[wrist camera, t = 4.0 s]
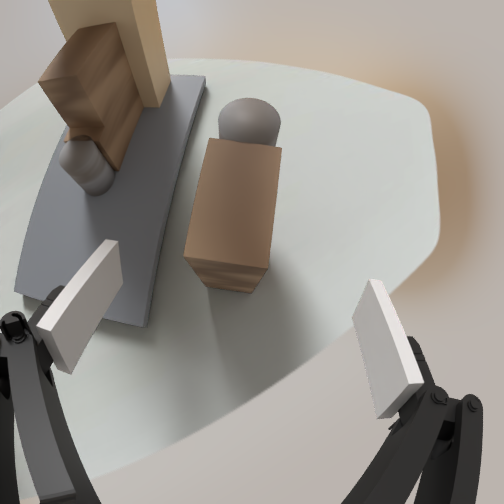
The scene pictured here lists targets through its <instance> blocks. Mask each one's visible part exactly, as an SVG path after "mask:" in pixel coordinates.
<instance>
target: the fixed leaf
mask: <svg viewBox="0 0 504 504" xmlns="http://www.w3.org/2000/svg"><path fill="white" fill-rule="evenodd" d="M38 83H39V85H40V86H41V88H42V89H43V91H44V92H45V94H46V95H47V97H48V98H49V100H50V101H51V102H52V104H53V105H54V107H55V108H56V110H57V111H58V113H59V114H60V115H61V117H62V118H63V120H64V121H65V122H66V124H67V125H68V127H69V130H68V132H67V134H66V137H65V139H64V142H65V145H64V147H63V148H62V150H61V152H60V155H59V164H60V166H61V167H62V168H63V169H64V170H65V171H66V172H67V173H68V174H69V175H70V176H71V178H72V179H73V180H74V181H75V182H76V183H77V184H78V185H79V186H80V187H81V188H82V189H83V190H84V191H85V192H86V193H88V194H89V195H91V196H100V195H102V194H104V193H106V192H107V191H108V190H109V189H110V188H111V186H112V185H113V183H114V180H115V172H114V171H120V168H121V165H122V162H123V159H124V156H125V154H126V151H127V148H128V146H129V143H130V140H131V138H132V135H133V133H134V130H135V128H136V125H137V123H138V120H139V118H140V115H141V113H142V111H143V108H144V106H143V103H142V100H141V97H140V95H139V92H138V89H137V86H136V83H135V80H134V77H133V74H132V71H131V68H130V65H129V62H128V59H127V56H126V53H125V50H124V47H123V44H122V41H121V38H120V35H119V31H118V28H117V25H116V22H112V23H105V24H100V25H94V26H89V27H84V28H80V29H77V31H76V32H75V33H74V34H73V35H72V36H71V38H70V39H69V40H68V41H67V42H66V44H65V45H64V46H63V48H62V49H61V50H60V51H59V53H58V54H57V55H56V57H55V58H54V59H53V61H52V62H51V63H50V65H49V66H48V67H47V69H46V70H45V72H44V73H43V75H42V76H41V78H40V79H39V81H38Z"/></svg>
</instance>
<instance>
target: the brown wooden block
mask: <svg viewBox="0 0 504 504" xmlns="http://www.w3.org/2000/svg"><path fill="white" fill-rule="evenodd" d="M218 122H219V139H215V138H209V141H208V145H207V149H206V153H205V157H204V161H203V165H202V169H201V173H200V178H199V182H198V186H197V191H196V195H195V200H194V204H193V209H192V214H191V219H190V223H189V228H188V233H187V238H186V243H185V249H184V254H183V257H184V258H185V259H186V261H187V262H188V263H189V265H190V266H191V267H192V269H193V270H194V271H195V273H196V274H197V275H198V277H199V278H200V279H201V281H202V282H203V283H204V285H205V286H206V287H212V288H218V289H225V290H232V291H239V292H246V293H252V292H253V290H254V289H255V287H256V286H257V284H258V283H259V281H260V280H261V278H262V277H263V275H264V274H265V272H266V271H267V269H268V264H269V256H270V248H271V240H272V231H273V223H274V214H275V206H276V197H277V188H278V179H279V170H280V161H281V152H282V148H280V147H275V145H276V141H277V137H278V133H279V129H280V124H281V121H280V116H279V114H278V112H277V111H276V109H275V108H274V107H273V106H271V105H270V104H268V103H267V102H265V101H262V100H259V99H255V98H242V99H237V100H234V101H232V102H230V103H229V104H227V105H226V106H225V107H224V108H223V109H222V110H221V112H220V114H219V119H218Z"/></svg>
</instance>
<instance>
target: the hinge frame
mask: <svg viewBox="0 0 504 504" xmlns="http://www.w3.org/2000/svg"><path fill="white" fill-rule="evenodd" d="M48 1H49V3H50V6H51V8H52V11H53V13H54V15H55V17H56V20H57V22H58V24H59V26H60V29H61V31H62V33H63V35H64V37H65V39H66V41H68V40H69V39H70V38H71V36H72V35H73V34H74V33H75V32H76V31H77V29H80V28H84V27H89V26H94V25H100V24H105V23H112V22H116V25H117V28H118V31H119V35H120V38H121V41H122V44H123V47H124V50H125V53H126V56H127V59H128V62H129V65H130V68H131V71H132V74H133V77H134V80H135V83H136V86H137V89H138V92H139V95H140V97H141V100H142V103H143V106H144V108H143V111H142V113H141V115H140V118H139V120H138V123H137V125H136V128H135V130H134V133H133V135H132V138H131V140H130V143H129V146H128V148H127V151H126V154H125V156H124V159H123V162H122V165H121V168H120V171H114V172H115V180H114V183H113V185H112V186H111V188H110V189H109V190H108V191H107V192H106V193H104V194H102V195H100V196H91V195H89V194H88V193H86V192H85V191H84V190H83V189H82V188H81V187H80V186H79V185H78V184H77V183H76V182H75V181H74V180H73V179H72V178H71V176H70V175H69V174H68V173H67V172H66V171H65V170H64V169H63V168H62V167H61V166H60V164H59V155H60V152H61V150H62V148H63V147H64V145H65V142H64V139H65V137H66V134H67V132H68V130H69V127H68V125H67V126H66V128H65V130H64V132H63V134H62V136H61V138H60V140H59V143H58V145H57V147H56V149H55V152H54V154H53V156H52V159H51V161H50V164H49V166H48V169H47V171H46V174H45V176H44V179H43V182H42V184H41V187H40V190H39V193H38V196H37V199H36V202H35V205H34V208H33V211H32V215H31V218H30V221H29V225H28V228H27V232H26V236H25V240H24V244H23V248H22V252H21V256H20V261H19V266H18V271H17V276H16V281H15V287H14V292H17V293H20V294H23V295H26V296H29V297H32V298H35V299H38V300H41V301H44V300H46V297H47V296H48V295H49V293H50V292H51V291H52V290H53V289H55V288H56V287H58V286H59V285H62V286H66V285H67V284H68V283H69V282H70V280H71V279H72V278H73V277H74V275H75V274H76V273H77V272H78V271H79V269H80V268H81V267H82V266H83V265H84V263H85V262H86V261H87V260H88V259H89V258H90V256H91V255H92V254H93V253H94V252H95V251H96V250H97V248H98V247H99V246H100V245H101V244H102V243H103V242H104V241H105V239H108V240H114V241H118V245H119V254H120V263H121V271H122V278H123V284H122V286H121V288H120V289H119V291H118V292H117V294H116V296H115V297H114V299H113V301H112V302H111V304H110V306H109V307H108V309H107V311H106V312H105V314H104V316H103V317H102V318H105V319H109V320H113V321H117V322H121V323H125V324H130V325H134V326H139V327H147V325H148V318H149V312H150V305H151V299H152V293H153V287H154V282H155V276H156V271H157V265H158V260H159V255H160V250H161V245H162V240H163V236H164V231H165V227H166V222H167V218H168V213H169V209H170V205H171V201H172V197H173V193H174V189H175V185H176V181H177V177H178V173H179V169H180V166H181V162H182V158H183V155H184V151H185V148H186V144H187V141H188V138H189V134H190V131H191V128H192V124H193V121H194V118H195V115H196V112H197V109H198V106H199V102H200V99H201V96H202V94H203V91H204V88H205V85H206V79H205V76H195V75H170V73H169V69H168V64H167V59H166V54H165V49H164V44H163V39H162V33H161V29H160V23H159V18H158V12H157V6H156V0H48Z"/></svg>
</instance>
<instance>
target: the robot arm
mask: <svg viewBox="0 0 504 504" xmlns="http://www.w3.org/2000/svg"><path fill="white" fill-rule="evenodd" d="M122 284H123V278H122V271H121V263H120V254H119V245H118V241H114V240H108V239H105V241H104V242H103V243H102V244H101V245H100V246H99V247H98V248H97V250H96V251H95V252H94V253H93V254H92V255H91V256H90V258H89V259H88V260H87V261H86V262H85V263H84V265H83V266H82V267H81V268H80V269H79V271H78V272H77V273H76V274H75V275H74V277H73V278H72V279H71V280H70V282H69V283H68V284H67V285H66V286H62V285H59V286H58V287H56V288H55V289H53V290H52V291H51V292H50V293H49V295H48V296H47V297H46V300H44V301H43V302H42V304H41V305H40V306H39V307H38V309H37V310H36V311H35V313H34V314H33V315H32V317H31V318H30V319H29V321H28V322H27V321H26V318H25V316H24V314H23V313H21V312H19V311H11V312H9V313H7V314H6V315H4V316H3V317H2V319H1V320H0V329H1V331H2V333H0V504H20V501H19V495H18V487H17V479H16V468H15V453H14V412H15V417H16V422H17V427H18V431H19V435H20V439H21V443H22V447H23V451H24V455H25V458H26V461H27V465H28V468H29V471H30V474H31V477H32V480H33V483H34V486H35V488H36V491H37V494H38V496H39V499H40V504H101V502H100V500H99V498H98V496H97V495H96V492H95V491H94V489H93V486H92V484H91V482H90V480H89V478H88V476H87V474H86V471H85V469H84V467H83V465H82V462H81V460H80V458H79V455H78V453H77V450H76V448H75V445H74V442H73V440H72V437H71V434H70V431H69V429H68V426H67V423H66V420H65V417H64V413H63V410H62V407H61V404H60V400H59V397H58V393H57V389H56V386H55V382H54V378H53V373H52V370H51V368H50V366H51V364H52V363H53V362H54V364H55V366H56V367H57V369H58V370H60V371H63V372H66V373H68V374H72V372H73V370H74V368H75V366H76V364H77V362H78V361H79V359H80V357H81V355H82V353H83V351H84V349H85V347H86V346H87V344H88V342H89V340H90V338H91V337H92V335H93V333H94V331H95V330H96V328H97V326H98V324H99V323H100V321H101V319H102V317H103V316H104V314H105V312H106V311H107V309H108V307H109V306H110V304H111V302H112V301H113V299H114V297H115V296H116V294H117V292H118V291H119V289H120V288H121V286H122ZM352 320H353V323H354V327H355V330H356V334H357V338H358V341H359V345H360V349H361V352H362V357H363V361H364V365H365V369H366V373H367V377H368V381H369V385H370V390H371V394H372V399H373V403H374V408H375V412H376V417H377V419H384V418H391V417H393V416H394V415H395V414H396V413H397V412H399V416H400V418H399V419H398V420H397V421H396V422H395V423H394V424H393V425H392V426H390V428H389V430H391V429H392V430H391V432H390V433H389V435H388V437H387V438H386V440H385V442H384V443H383V445H382V447H381V448H380V450H379V451H378V453H377V455H376V456H375V458H374V459H373V461H372V462H371V464H370V465H369V467H368V468H367V469H366V471H365V472H364V474H363V475H362V477H361V478H360V479H359V481H358V482H357V484H356V485H355V486H354V488H353V489H352V490H351V492H350V493H349V494H348V496H347V497H346V498H345V499H344V501H343V502H342V503H341V504H405V502H406V500H407V499H408V497H409V495H410V493H411V491H412V489H413V488H414V485H415V484H416V482H417V480H418V478H419V476H420V474H421V472H422V475H421V479H420V483H419V487H418V490H417V494H416V497H415V501H414V504H475V501H476V496H477V489H478V483H479V475H480V466H481V454H482V436H483V407H482V403H481V401H480V400H479V399H478V397H476V396H475V395H473V394H468V395H466V396H465V397H464V398H463V399H462V400H458V399H453V398H449V397H448V394H447V393H446V392H445V390H444V389H442V388H441V387H438V386H436V385H435V383H434V380H433V378H432V375H431V372H430V370H429V367H428V365H427V362H426V361H425V357H424V355H422V350H421V348H420V345H419V344H418V343H417V341H416V340H415V339H414V338H413V337H410V336H406V335H405V332H404V330H403V327H402V325H401V322H400V320H399V318H398V315H397V313H396V311H395V309H394V306H393V304H392V302H391V300H390V298H389V295H388V293H387V291H386V289H385V287H384V285H383V283H382V281H381V280H374V279H369V280H368V282H367V285H366V287H365V289H364V292H363V294H362V296H361V298H360V301H359V303H358V305H357V307H356V309H355V312H354V314H353V316H352ZM422 470H423V471H422Z"/></svg>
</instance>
